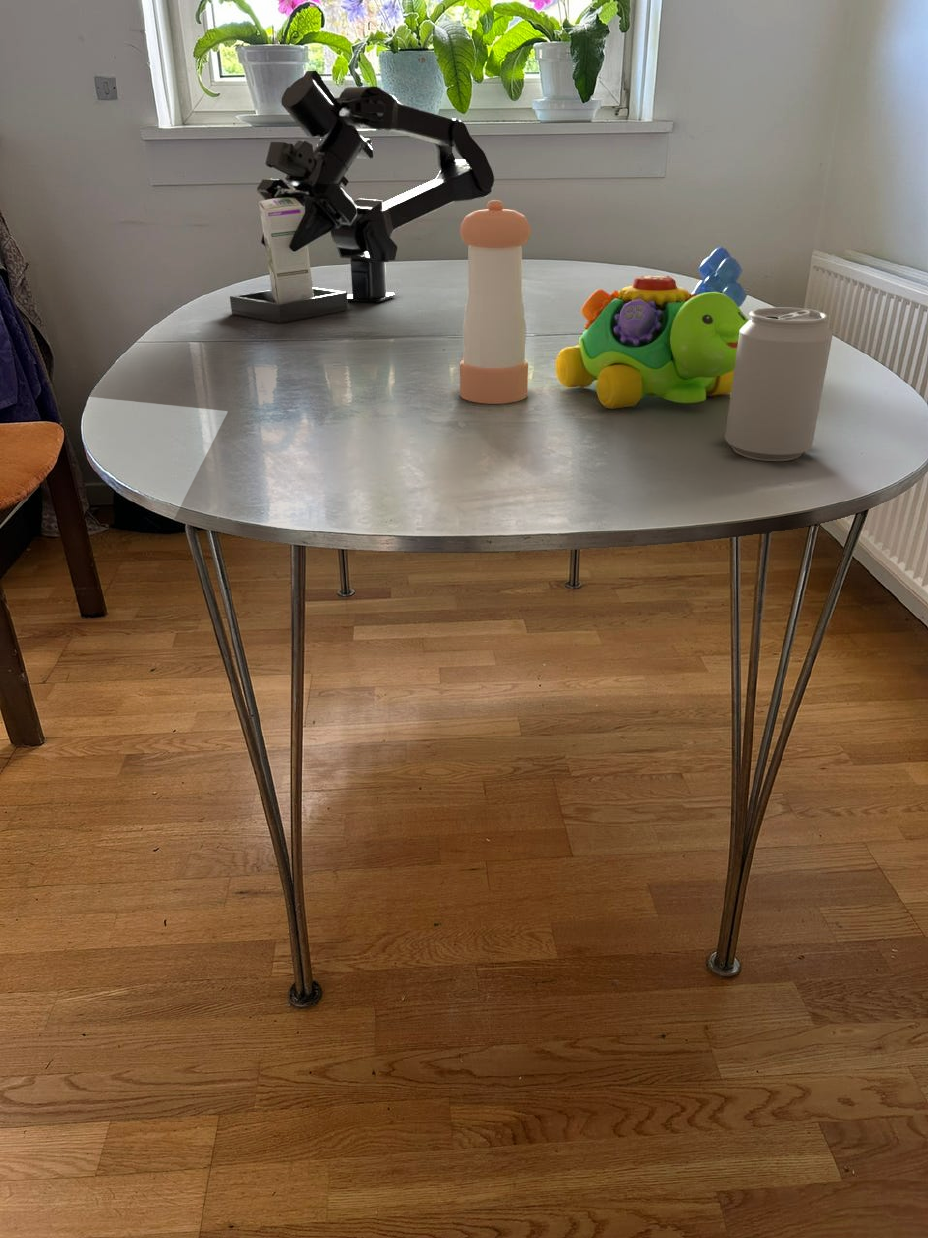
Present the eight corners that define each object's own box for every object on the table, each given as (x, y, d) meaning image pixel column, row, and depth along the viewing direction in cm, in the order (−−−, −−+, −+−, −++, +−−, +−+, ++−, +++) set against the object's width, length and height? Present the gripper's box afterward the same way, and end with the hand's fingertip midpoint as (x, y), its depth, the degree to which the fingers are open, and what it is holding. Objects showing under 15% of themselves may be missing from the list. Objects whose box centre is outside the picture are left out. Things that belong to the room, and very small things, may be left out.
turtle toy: (654, 437, 85) (666, 306, 80) (538, 379, 104) (542, 270, 98) (797, 415, 91) (818, 291, 86) (663, 364, 110) (673, 260, 104)
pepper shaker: (454, 402, 96) (452, 203, 87) (465, 385, 102) (464, 197, 93) (523, 405, 95) (528, 203, 86) (530, 387, 101) (536, 197, 92)
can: (712, 438, 85) (729, 304, 79) (790, 436, 85) (813, 302, 79) (740, 465, 78) (761, 321, 72) (825, 462, 79) (853, 318, 73)
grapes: (665, 340, 122) (674, 243, 116) (712, 337, 123) (724, 242, 117) (699, 359, 112) (711, 255, 106) (750, 357, 113) (765, 253, 107)
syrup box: (316, 304, 141) (304, 203, 132) (278, 309, 139) (264, 206, 131) (308, 294, 145) (296, 195, 137) (271, 298, 144) (257, 199, 135)
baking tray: (298, 301, 150) (297, 284, 148) (348, 309, 143) (347, 292, 142) (231, 313, 140) (229, 296, 139) (281, 323, 134) (279, 304, 133)
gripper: (260, 119, 137) (205, 205, 136) (333, 118, 125) (274, 212, 124) (308, 174, 146) (257, 255, 145) (381, 178, 134) (327, 267, 133)
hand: (277, 247), depth 136 cm, fingers closed on syrup box, 7 cm apart
